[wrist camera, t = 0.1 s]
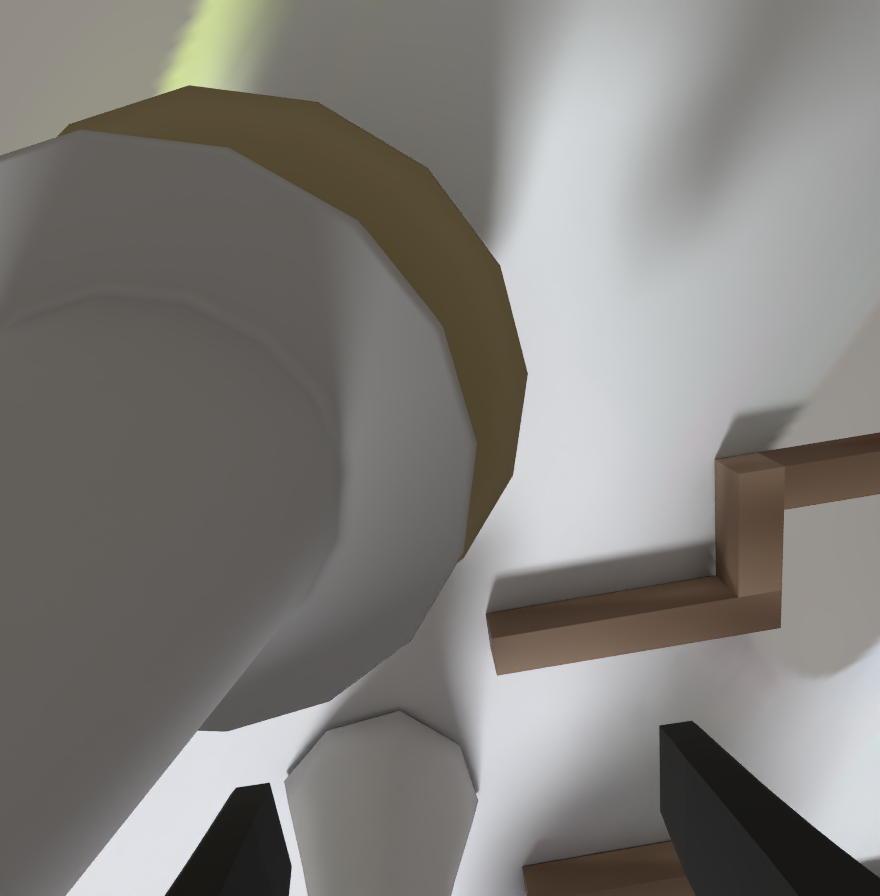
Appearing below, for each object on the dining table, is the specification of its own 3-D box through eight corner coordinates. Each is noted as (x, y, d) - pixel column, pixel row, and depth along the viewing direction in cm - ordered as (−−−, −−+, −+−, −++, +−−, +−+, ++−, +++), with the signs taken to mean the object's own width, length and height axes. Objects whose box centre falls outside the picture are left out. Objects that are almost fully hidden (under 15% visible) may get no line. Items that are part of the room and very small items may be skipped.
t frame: (995, 882, 27) (1028, 916, 26) (536, 963, 27) (544, 1002, 25) (1084, 399, 20) (1135, 409, 19) (469, 499, 20) (474, 517, 18)
